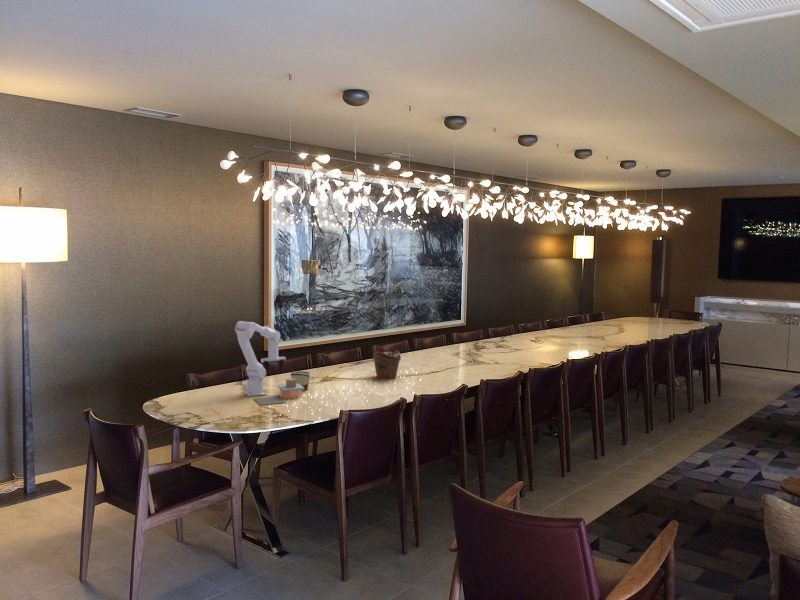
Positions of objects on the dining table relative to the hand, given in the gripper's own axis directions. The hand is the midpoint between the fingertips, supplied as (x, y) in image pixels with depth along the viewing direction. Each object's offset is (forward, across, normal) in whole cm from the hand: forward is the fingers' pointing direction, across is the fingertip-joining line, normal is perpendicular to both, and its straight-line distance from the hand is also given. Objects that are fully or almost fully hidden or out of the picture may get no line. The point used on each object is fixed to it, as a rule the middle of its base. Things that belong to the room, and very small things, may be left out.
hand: (273, 373), depth 380 cm
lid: (+5, +2, -21) cm, 21 cm away
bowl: (+9, +3, -20) cm, 23 cm away
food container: (+10, +15, -7) cm, 19 cm away
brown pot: (+10, +77, -1) cm, 78 cm away
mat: (+9, -12, -27) cm, 31 cm away
